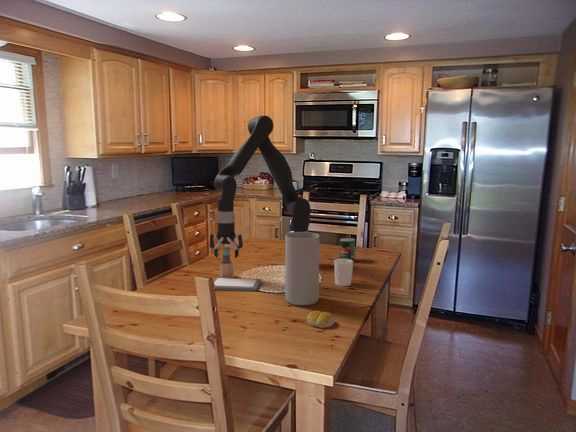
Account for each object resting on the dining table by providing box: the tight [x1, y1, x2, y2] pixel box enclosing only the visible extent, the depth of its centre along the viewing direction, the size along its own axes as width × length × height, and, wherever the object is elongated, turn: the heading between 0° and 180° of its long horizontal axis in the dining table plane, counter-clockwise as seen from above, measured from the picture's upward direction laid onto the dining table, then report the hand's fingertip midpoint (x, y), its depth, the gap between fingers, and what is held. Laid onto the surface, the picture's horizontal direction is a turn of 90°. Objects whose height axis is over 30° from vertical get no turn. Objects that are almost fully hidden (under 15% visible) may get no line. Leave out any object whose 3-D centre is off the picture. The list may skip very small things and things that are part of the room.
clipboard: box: [213, 277, 262, 292], centre depth 181 cm, size 20×13×1 cm, turn 84°
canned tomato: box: [338, 237, 356, 263], centre depth 221 cm, size 8×8×11 cm
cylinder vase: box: [284, 231, 320, 307], centre depth 162 cm, size 12×12×25 cm
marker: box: [222, 246, 231, 264], centre depth 191 cm, size 3×3×13 cm
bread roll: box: [306, 310, 336, 329], centre depth 142 cm, size 8×9×4 cm
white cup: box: [333, 258, 354, 287], centre depth 183 cm, size 8×8×10 cm
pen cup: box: [218, 259, 235, 278], centre depth 192 cm, size 6×6×7 cm
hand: (226, 257), depth 191 cm, fingers open, 8 cm apart
